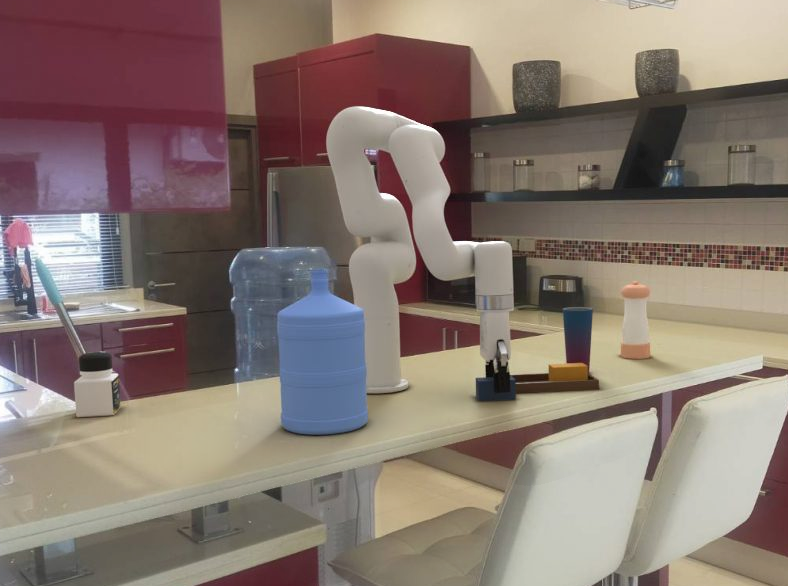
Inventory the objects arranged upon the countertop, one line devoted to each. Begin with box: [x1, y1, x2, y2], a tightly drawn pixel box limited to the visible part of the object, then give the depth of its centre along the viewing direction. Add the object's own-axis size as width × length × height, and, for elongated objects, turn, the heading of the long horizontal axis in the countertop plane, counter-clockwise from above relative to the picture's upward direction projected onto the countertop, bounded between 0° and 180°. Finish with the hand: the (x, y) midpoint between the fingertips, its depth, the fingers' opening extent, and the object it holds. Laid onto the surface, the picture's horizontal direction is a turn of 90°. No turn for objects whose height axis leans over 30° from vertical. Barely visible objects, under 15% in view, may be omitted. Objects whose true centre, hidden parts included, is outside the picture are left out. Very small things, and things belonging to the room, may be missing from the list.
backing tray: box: [510, 372, 600, 394], centre depth 185 cm, size 19×10×2 cm, turn 95°
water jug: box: [276, 269, 369, 436], centre depth 154 cm, size 16×16×28 cm
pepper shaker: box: [620, 280, 651, 360], centre depth 218 cm, size 7×7×19 cm
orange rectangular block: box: [548, 363, 588, 382], centre depth 185 cm, size 8×4×4 cm, turn 95°
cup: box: [562, 306, 594, 374], centre depth 198 cm, size 7×7×15 cm
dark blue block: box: [475, 376, 517, 402], centre depth 174 cm, size 8×4×4 cm, turn 95°
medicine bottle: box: [73, 351, 122, 418], centre depth 170 cm, size 7×7×12 cm
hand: (497, 387), depth 174 cm, fingers open, 9 cm apart
